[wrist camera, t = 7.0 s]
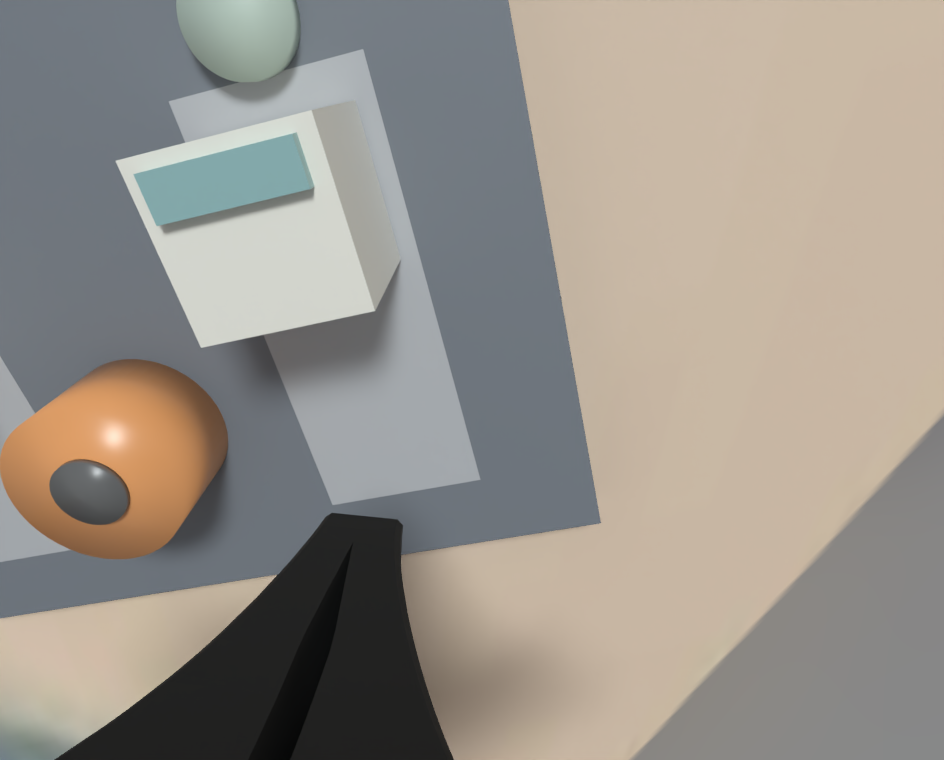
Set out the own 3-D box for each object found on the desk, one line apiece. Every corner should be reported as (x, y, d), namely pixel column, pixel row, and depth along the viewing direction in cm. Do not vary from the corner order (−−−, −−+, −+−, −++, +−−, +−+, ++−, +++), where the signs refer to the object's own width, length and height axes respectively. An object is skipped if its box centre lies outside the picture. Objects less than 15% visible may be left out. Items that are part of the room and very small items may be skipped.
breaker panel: (-376, 121, 17) (-466, 127, 15) (481, -138, 14) (480, -165, 12) (-10, 599, 25) (-45, 636, 23) (595, 500, 22) (603, 535, 20)
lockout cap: (43, 376, 19) (-44, 435, 16) (188, 344, 18) (126, 399, 15) (119, 502, 21) (55, 576, 18) (251, 477, 20) (208, 549, 17)
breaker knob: (202, 139, 16) (106, 162, 12) (354, 99, 15) (306, 111, 11) (261, 290, 17) (195, 353, 13) (400, 259, 17) (372, 316, 13)
